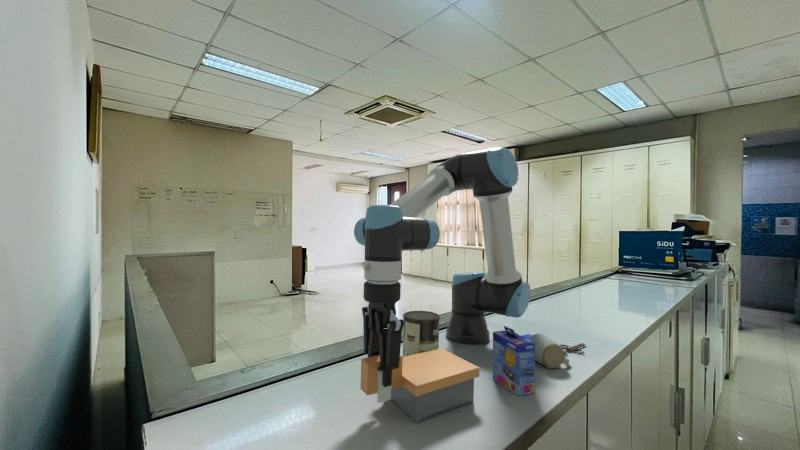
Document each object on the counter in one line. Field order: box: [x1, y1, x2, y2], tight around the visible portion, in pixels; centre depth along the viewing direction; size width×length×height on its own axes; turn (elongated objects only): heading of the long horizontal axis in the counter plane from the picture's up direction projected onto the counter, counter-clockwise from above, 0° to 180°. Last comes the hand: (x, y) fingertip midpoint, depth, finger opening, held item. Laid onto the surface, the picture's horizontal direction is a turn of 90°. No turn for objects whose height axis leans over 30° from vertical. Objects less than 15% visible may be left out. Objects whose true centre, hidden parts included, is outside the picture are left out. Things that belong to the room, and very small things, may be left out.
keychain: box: [558, 342, 586, 357], centre depth 106 cm, size 8×18×2 cm, turn 124°
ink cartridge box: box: [492, 325, 536, 397], centre depth 81 cm, size 10×6×14 cm, turn 21°
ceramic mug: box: [529, 333, 570, 369], centre depth 95 cm, size 11×8×8 cm
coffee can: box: [402, 310, 440, 357], centre depth 91 cm, size 10×10×14 cm
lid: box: [360, 347, 480, 396], centre depth 71 cm, size 25×13×6 cm, turn 123°
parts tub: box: [390, 378, 475, 424], centre depth 73 cm, size 16×12×7 cm
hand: (379, 396), depth 66 cm, fingers closed on lid, 3 cm apart
